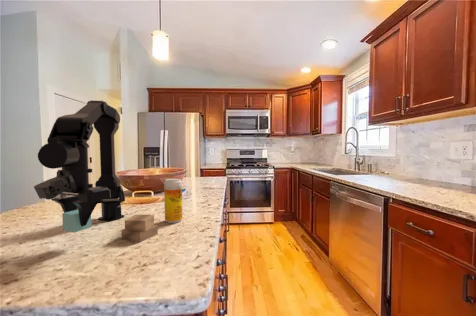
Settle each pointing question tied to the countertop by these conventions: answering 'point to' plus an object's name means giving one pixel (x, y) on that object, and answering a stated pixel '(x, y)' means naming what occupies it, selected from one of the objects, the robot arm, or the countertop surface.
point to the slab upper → (139, 222)
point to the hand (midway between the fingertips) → (77, 224)
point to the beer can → (173, 200)
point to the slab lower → (140, 234)
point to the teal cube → (73, 222)
